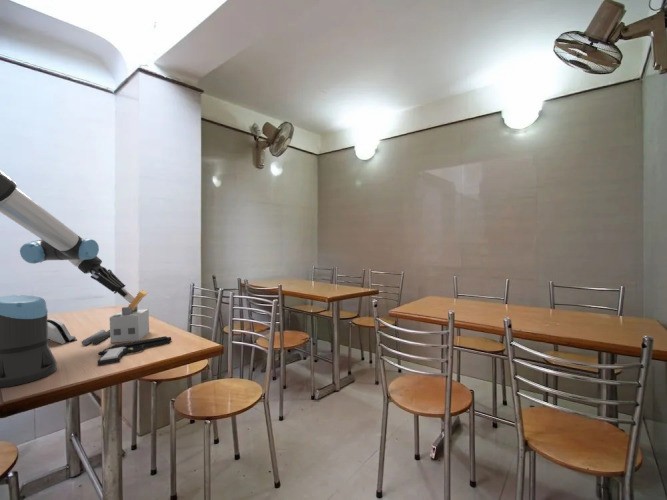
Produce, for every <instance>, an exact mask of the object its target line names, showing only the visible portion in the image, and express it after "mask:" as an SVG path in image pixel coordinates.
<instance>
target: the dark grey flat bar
mask: <svg viewBox="0 0 667 500" xmlns="http://www.w3.org/2000/svg"><path fill="white" fill-rule="evenodd" d="M108 338H110V329H109V330H107V331H106V330H105V329H101V330H99V331H97V332H95V333H93V334H92V335H90V336H88V337H87V338H84V339H83V340H82V341H81V344H82V345H83V346H88V345H89V344H92V345H95V346H96V345H98V344H99V343H101V342H102V341H104V340H106V339H108Z"/></svg>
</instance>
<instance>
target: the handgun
mask: <svg viewBox="0 0 667 500" xmlns="http://www.w3.org/2000/svg"><path fill="white" fill-rule="evenodd" d="M171 341H172V337H171V336H166V335H165V336H160V337H153V338H147V339H140V340H137V341H128V342H125V343H118V344H114V345H112V346H110V347H107V348H104V349H103V350H102V351H99V352H98V353H97V355H98V356H100V358H99V359H98V360H97V364H98V365H101V366H102V365H108V364H113V363H118V362H120V360H121V358H122V357H123V355H124V356H125V355H129V354H136V353H140V352H143V351H144V350H145V349H148V348H153V347H158V346H159V347H160V346H163V345H167V344H171V343H170V342H171Z"/></svg>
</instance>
